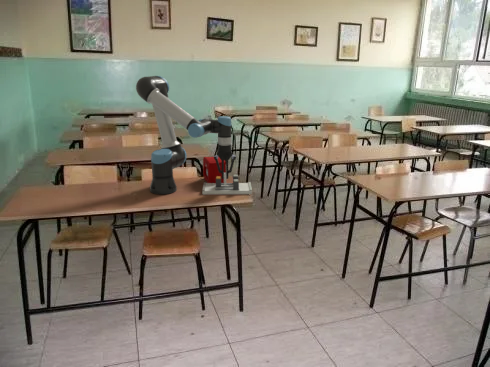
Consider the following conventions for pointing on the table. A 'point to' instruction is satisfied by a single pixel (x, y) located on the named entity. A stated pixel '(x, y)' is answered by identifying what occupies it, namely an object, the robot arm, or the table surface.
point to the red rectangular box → (212, 169)
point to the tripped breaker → (218, 181)
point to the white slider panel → (228, 187)
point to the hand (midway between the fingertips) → (225, 184)
